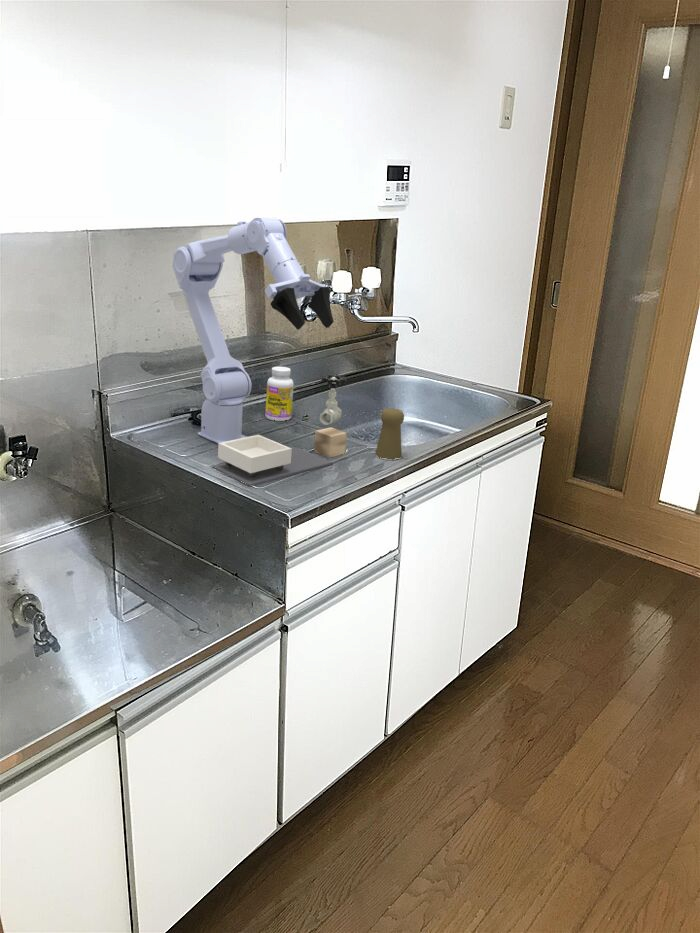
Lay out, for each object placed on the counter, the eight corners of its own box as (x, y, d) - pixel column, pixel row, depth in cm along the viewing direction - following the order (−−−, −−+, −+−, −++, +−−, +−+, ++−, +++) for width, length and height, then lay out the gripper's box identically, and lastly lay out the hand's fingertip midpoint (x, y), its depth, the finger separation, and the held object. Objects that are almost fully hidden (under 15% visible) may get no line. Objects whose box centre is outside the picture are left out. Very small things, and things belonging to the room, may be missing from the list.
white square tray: (217, 465, 160) (218, 443, 159) (257, 455, 168) (258, 434, 166) (250, 480, 154) (251, 458, 152) (290, 470, 161) (291, 448, 159)
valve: (313, 424, 196) (316, 377, 191) (323, 418, 201) (326, 372, 197) (337, 429, 194) (341, 382, 189) (346, 422, 199) (350, 376, 195)
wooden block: (313, 451, 176) (315, 430, 174) (329, 447, 180) (331, 427, 178) (329, 458, 173) (331, 436, 171) (345, 454, 176) (346, 433, 175)
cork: (401, 453, 180) (407, 407, 176) (401, 461, 174) (406, 414, 171) (376, 450, 181) (380, 404, 177) (374, 458, 175) (378, 411, 171)
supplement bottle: (262, 419, 195) (264, 369, 191) (269, 413, 202) (271, 364, 197) (288, 423, 195) (291, 373, 190) (294, 416, 201) (297, 367, 196)
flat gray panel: (212, 468, 161) (212, 466, 160) (295, 448, 177) (295, 446, 176) (249, 486, 153) (249, 484, 153) (332, 464, 169) (332, 462, 169)
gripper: (267, 254, 146) (298, 313, 142) (322, 256, 156) (353, 311, 153) (249, 279, 150) (279, 336, 147) (304, 279, 161) (333, 333, 157)
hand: (315, 325), depth 150 cm, fingers open, 7 cm apart
